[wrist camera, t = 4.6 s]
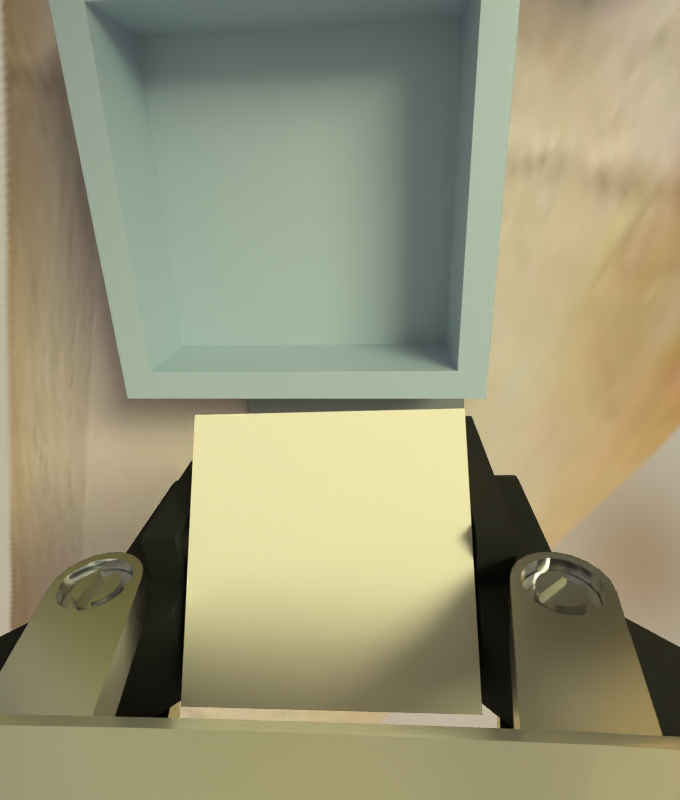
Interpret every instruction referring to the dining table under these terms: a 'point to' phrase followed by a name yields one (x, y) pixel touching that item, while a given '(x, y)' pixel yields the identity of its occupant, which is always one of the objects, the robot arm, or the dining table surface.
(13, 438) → the dining table surface
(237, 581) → the stone
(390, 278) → the blue bin
